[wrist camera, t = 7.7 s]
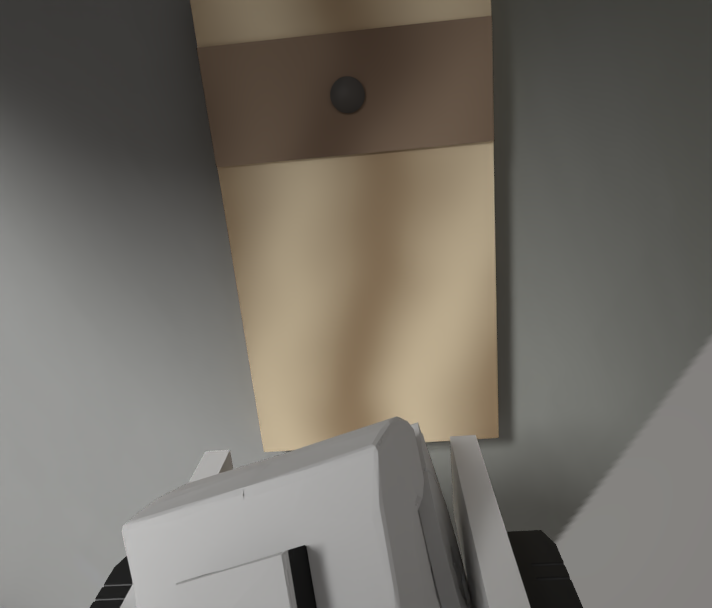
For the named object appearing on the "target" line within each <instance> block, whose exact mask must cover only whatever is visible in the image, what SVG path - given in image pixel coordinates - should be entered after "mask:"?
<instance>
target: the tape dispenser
mask: <svg viewBox="0 0 712 608" xmlns="http://www.w3.org/2000/svg"><path fill="white" fill-rule="evenodd" d="M122 536H123V540H124V545H125V549H126V554H127V559H128V563H129V568H130V573H131V577H132V583H133V589H134V595H135V602H136V608H473V607H472V602H471V596H470V591H469V586H468V581H467V577H466V573H465V570H464V566H463V562H462V559H461V555H460V552H459V548H458V545H457V541H456V537H455V534H454V530H453V527H452V523H451V520H450V516H449V512H448V510H447V506H446V503H445V500H444V497H443V494H442V491H441V488H440V485H439V482H438V479H437V476H436V473H435V470H434V466H433V463H432V460H431V457H430V454H429V451H428V448H427V445H426V442H425V439H424V436H423V434H422V433H421V430H420V427H419V424H418V422H417V423H414V424H411V425H410V424H409V422H408V421H406V420H404V419H402V418H400V417H397V416H396V417H393V418H390V419H387V420H384V421H381V422H378V423H375V424H372V425H369V426H366V427H363V428H360V429H357V430H354V431H351V432H347V433H344V434H341V435H338V436H335V437H332V438H329V439H326V440H323V441H320V442H317V443H314V444H311V445H308V446H305V447H302V448H299V449H296V450H293V451H290V452H287V453H284V454H280V455H277V456H274V457H271V458H268V459H264V460H261V461H258V462H255V463H251V464H248V465H245V466H242V467H239V468H235V469H232V470H229V471H226V472H222V473H219V474H216V475H213V476H210V477H206V478H203V479H200V480H197V481H193V482H190V483H187V484H185V485H183V486H181V487H179V488H177V489H175V490H173V491H171V492H169V493H167V494H165V495H163V496H161V497H159V498H158V499H156V500H155V501H153V502H152V503H150V504H149V505H148V506H146V507H145V508H143V509H142V510H141V511H140V512H138V513H137V514H136V515H135V516H134V517H133V518H131V519H130V520H129V521H128V522H127V523H126V524H124V525H123V527H122Z"/></svg>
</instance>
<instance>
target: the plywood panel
mask: <svg viewBox="0 0 712 608" xmlns="http://www.w3.org/2000/svg"><path fill="white" fill-rule="evenodd" d="M190 4H191V10H192V16H193V23H194V29H195V35H196V41H197V47H198V48H197V53H198V59H199V65H200V71H201V77H202V83H203V89H204V96H205V102H206V108H207V114H208V120H209V126H210V132H211V138H212V144H213V150H214V156H215V162H216V167H217V169H218V175H219V181H220V187H221V193H222V199H223V205H224V211H225V218H226V224H227V230H228V236H229V242H230V248H231V254H232V260H233V266H234V272H235V278H236V285H237V291H238V297H239V303H240V309H241V315H242V321H243V327H244V333H245V339H246V346H247V352H248V358H249V364H250V370H251V376H252V382H253V388H254V394H255V400H256V406H257V413H258V419H259V425H260V431H261V437H262V443H263V449H264V452H274V451H291V450H296V449H299V448H302V447H305V446H308V445H311V444H314V443H317V442H320V441H323V440H326V439H329V438H332V437H335V436H338V435H341V434H344V433H347V432H351V431H354V430H357V429H360V428H363V427H366V426H369V425H372V424H375V423H378V422H381V421H384V420H387V419H390V418H393V417H396V416H397V417H400V418H402V419H404V420H406V421H408V422H409V424H410V425H411V424H414V423H417V422H418V424H419V427H420V430H421V433H422V434H423V436H424V439H425V442H437V441H450V436H466V435H476V438H477V439H486V438H499V429H498V372H497V316H496V259H495V203H494V146H493V141H494V107H493V49H492V16H491V0H190Z"/></svg>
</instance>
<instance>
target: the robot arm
mask: <svg viewBox="0 0 712 608" xmlns="http://www.w3.org/2000/svg"><path fill="white" fill-rule="evenodd" d="M450 450H451V470H452V490H453V511H454V519H455V524H456V529H457V534H458V539H459V544H460V549H461V555H462V560H463V565H464V570H465V573H466V577H467V581H468V586H469V591H470V596H471V602H472V607H473V608H583V607H582V604H581V602H580V600H579V597H578V595H577V593H576V590H575V588H574V586H573V583H572V581H571V580H570V577H569V574H568V572H567V569H566V567H565V565H564V564H563V560H562V558H561V555H560V553H559V551H558V548H557V546H556V544H555V543H554V542H553V541H552V540H551V539H550V538H548V537H547V536H546V535H545V534H544V533H543V532H542V531H541V530H534V531H513V532H506V529H505V526H504V522H503V519H502V516H501V513H500V510H499V507H498V504H497V500H496V497H495V494H494V491H493V488H492V485H491V482H490V478H489V475H488V472H487V469H486V466H485V463H484V460H483V456H482V453H481V450H480V447H479V444H478V441H477V438H476V435H466V436H450ZM232 469H233V465H232V459H231V453H230V450H218V451H205V453H204V455H203V457H202V459H201V460H200V462H199V464H198V466H197V468H196V469H195V471H194V473H193V475H192V477H191V479H190V480H189V482H188V483H190V482H193V481H197V480H200V479H203V478H206V477H210V476H213V475H216V474H219V473H222V472H226V471H229V470H232ZM90 608H136V602H135V595H134V589H133V583H132V577H131V573H130V568H129V563H128V559H127V556H126V557H125V558H124V559H123V560H122V561H121V562H120V563H119V564H117V565H116V566H115V567H114V569H113V571H112V572H111V574H110V575H109V577H108V579H107V580H106V582H105V584H104V587H102V589H101V590H100V592H99V593H98V595H97V597H96V601H95V602H93V603H92V605H91V607H90Z"/></svg>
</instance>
